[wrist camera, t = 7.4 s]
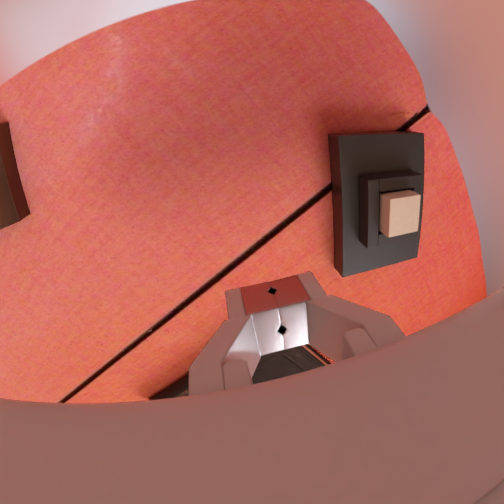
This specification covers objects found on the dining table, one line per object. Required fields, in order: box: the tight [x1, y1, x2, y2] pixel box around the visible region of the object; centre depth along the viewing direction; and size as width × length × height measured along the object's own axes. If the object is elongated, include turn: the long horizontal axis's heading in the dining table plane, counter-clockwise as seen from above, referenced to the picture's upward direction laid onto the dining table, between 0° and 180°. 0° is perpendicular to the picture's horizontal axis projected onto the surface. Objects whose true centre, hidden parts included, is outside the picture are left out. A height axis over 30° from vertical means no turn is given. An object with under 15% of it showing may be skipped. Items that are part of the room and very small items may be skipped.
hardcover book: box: [150, 344, 330, 400], centre depth 36 cm, size 16×23×2 cm
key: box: [379, 190, 421, 238], centre depth 23 cm, size 4×4×2 cm
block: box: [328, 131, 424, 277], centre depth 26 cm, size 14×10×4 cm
